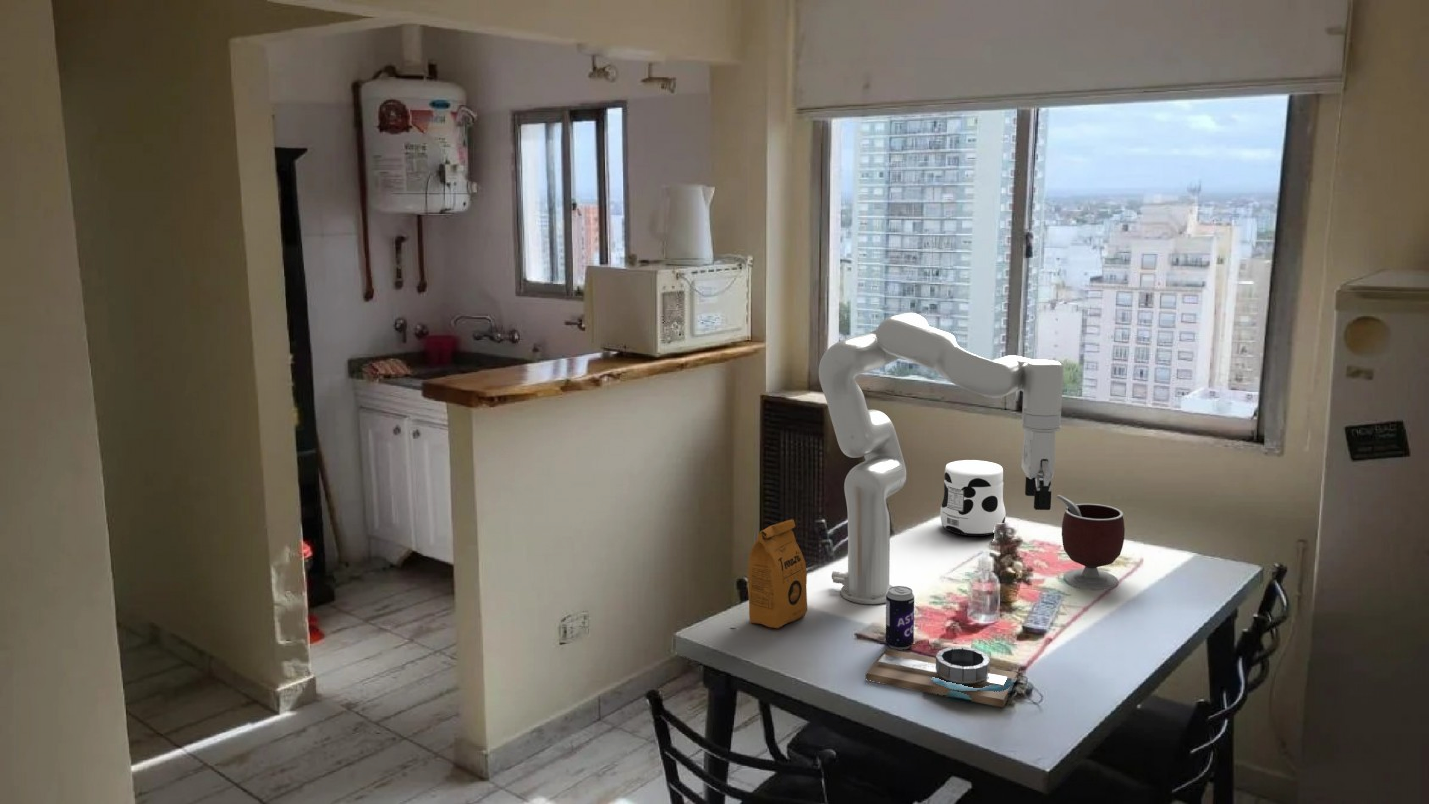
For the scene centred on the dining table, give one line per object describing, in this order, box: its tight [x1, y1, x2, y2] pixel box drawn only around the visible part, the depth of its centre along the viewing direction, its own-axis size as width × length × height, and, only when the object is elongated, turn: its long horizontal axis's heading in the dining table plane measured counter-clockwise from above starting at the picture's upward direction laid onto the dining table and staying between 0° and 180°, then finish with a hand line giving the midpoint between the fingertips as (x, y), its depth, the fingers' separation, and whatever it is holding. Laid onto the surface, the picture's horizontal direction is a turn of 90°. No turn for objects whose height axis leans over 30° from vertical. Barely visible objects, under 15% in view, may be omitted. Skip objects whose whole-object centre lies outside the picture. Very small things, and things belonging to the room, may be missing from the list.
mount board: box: [865, 648, 1018, 708], centre depth 202 cm, size 26×12×2 cm, turn 63°
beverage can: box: [885, 585, 915, 651], centre depth 217 cm, size 6×6×12 cm
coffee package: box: [747, 518, 808, 629], centre depth 230 cm, size 10×12×22 cm
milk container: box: [939, 459, 1007, 537], centre depth 288 cm, size 17×17×18 cm
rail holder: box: [878, 646, 1007, 687], centre depth 201 cm, size 24×10×4 cm, turn 63°
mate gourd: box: [1056, 494, 1126, 591], centre depth 250 cm, size 16×14×20 cm
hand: (1037, 502), depth 218 cm, fingers open, 9 cm apart
